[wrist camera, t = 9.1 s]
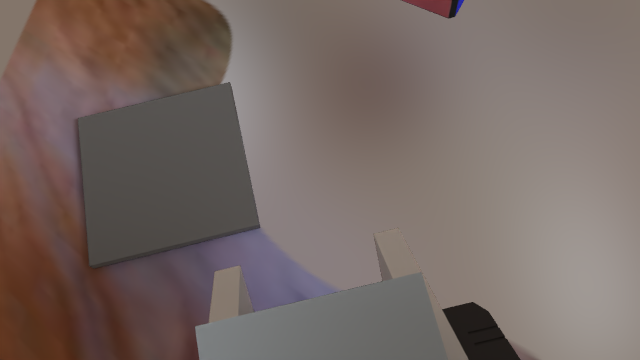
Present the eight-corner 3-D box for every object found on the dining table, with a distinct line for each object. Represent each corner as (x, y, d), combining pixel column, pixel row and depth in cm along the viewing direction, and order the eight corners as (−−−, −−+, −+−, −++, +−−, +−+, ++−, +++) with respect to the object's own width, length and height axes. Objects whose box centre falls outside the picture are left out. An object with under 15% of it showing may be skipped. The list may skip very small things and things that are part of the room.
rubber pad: (231, 87, 38) (229, 82, 38) (260, 227, 35) (258, 224, 34) (81, 122, 38) (77, 118, 38) (93, 268, 34) (89, 265, 34)
